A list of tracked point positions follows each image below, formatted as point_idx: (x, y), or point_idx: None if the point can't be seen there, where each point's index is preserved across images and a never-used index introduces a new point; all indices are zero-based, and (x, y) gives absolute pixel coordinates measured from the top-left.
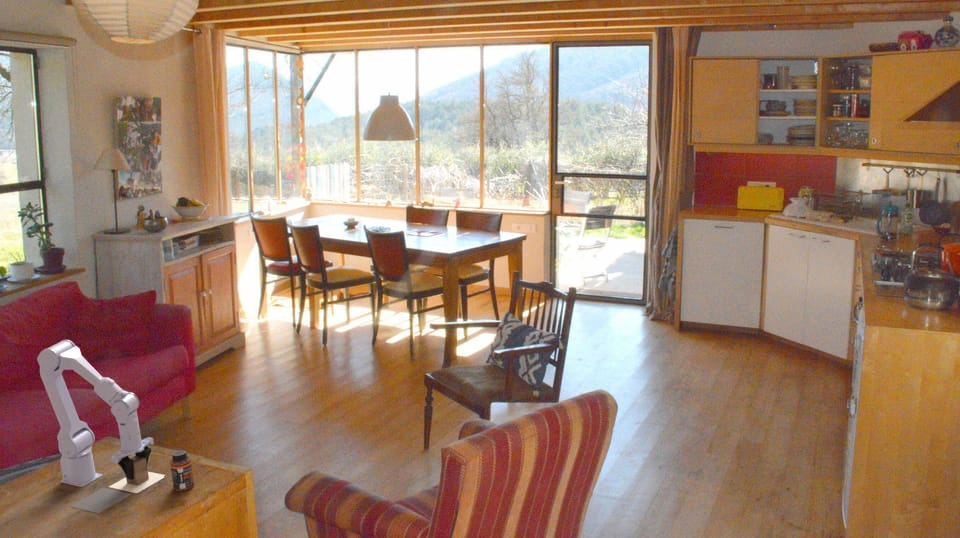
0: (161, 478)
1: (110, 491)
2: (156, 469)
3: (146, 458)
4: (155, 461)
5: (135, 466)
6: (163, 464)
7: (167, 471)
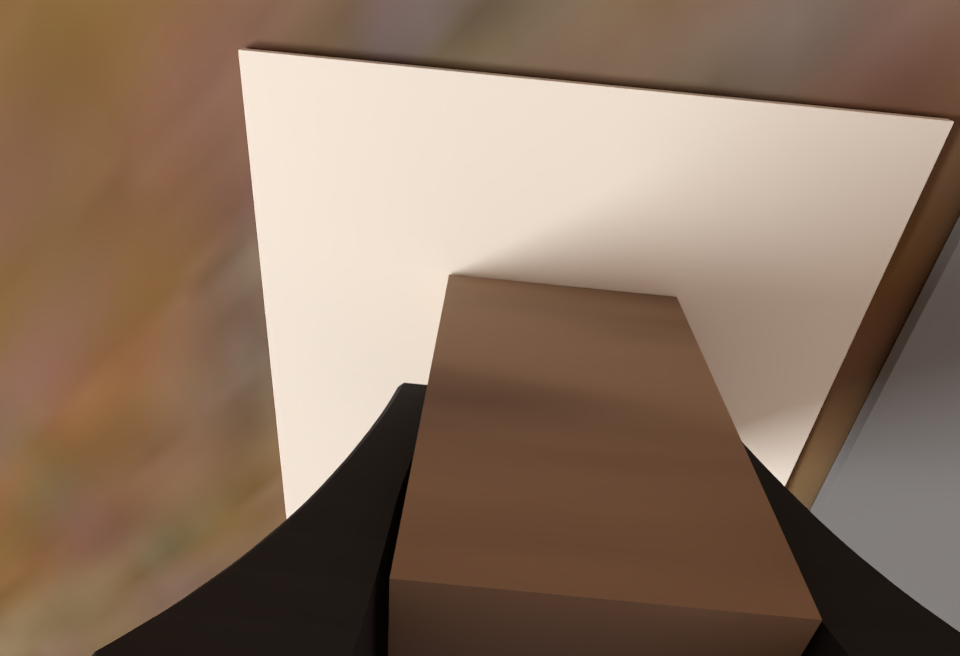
0: (368, 76)
1: (871, 504)
2: (173, 374)
3: (344, 554)
4: (44, 507)
5: (752, 544)
6: (28, 380)
7: (126, 179)
